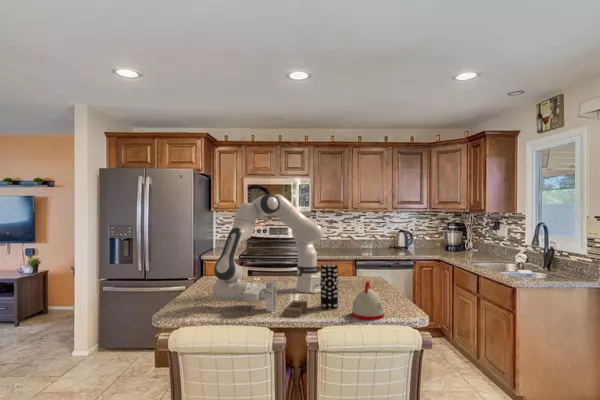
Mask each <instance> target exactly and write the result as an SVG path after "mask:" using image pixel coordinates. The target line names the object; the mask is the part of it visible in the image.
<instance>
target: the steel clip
mask: <svg viewBox="0 0 600 400" xmlns="http://www.w3.org/2000/svg"><path fill="white" fill-rule="evenodd" d="M265 284H266V293H271V297H266V298H265V299H266V300H265V309H266V310H265V312H266V313H274V310H276V309H277V280H269V281H268V282H267V283H265Z"/></svg>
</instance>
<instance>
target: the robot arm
mask: <svg viewBox="0 0 600 400" xmlns="http://www.w3.org/2000/svg"><path fill="white" fill-rule="evenodd" d="M273 214H274V215H275V216H276V217H277V218H278V219H279V220H280V221H281V222H282V223H283V224H284V225H285V226H286V227H288V228H289V229H290V230H291V236H292V237H293V239H294V242H295V245H296V249H297V266H296V269H297V270H296V274H297V275H296V276H297V278H296V279H297V280H296V285H295V291H296V292H299V293H307V294H309V293H310V294H317V293H321V265H320V266H319V265H318V257H317V255H318V252H317V250H316V249H315V247H314V244H315V243H318V242H321V241H322V240H323V238H324V236H325V235H324V229H323V228H322V226H320V225H319V224H317V223H316V222H315V221H313V220H312V219H310V218H308V217H307V216H306V215H305V214H303V213H302V212H301V211H300V210H299V209H298V208H297V207H296V206H295V205H294V204H293V203H292V202H291V201H290V200H288V199H287V198H286V197H284V195H281V194H280V193H277V194H264V195H261V196H258V197H257V198H255V199H252V200H251V201H249V202H243V203H241V204H240V205H239V206H238V209H237V211H236V214H235V216H234V220H233V223H232V227H231V228H230V229H231V230H230V232H229V233H228V235H227V238H226V240H225V243H224V246H223V249H222V252H221V255H220V257H219V258H218V259H217V260H216V262H215V265H214V267H213V273H214V276H215V277H216V278H217V281H215V282H214V283H213V285H212V294H213V296H214V297H215V299H218V300H223V301H237V302H258V301H259V300H261V299H264V298H265V299H266V297H271V293H266V283H261V282H260V283H259V282H255V281H248V282H247V281H245V282H244V281H243V277H244V269H243V268H242V267H241V265H239V264H238V263H236V262H235V257H236V254H237V251H238V248H239V245H240V244H241V242H243V241H246V240H248V239H250V238H251V237H252V235H253V233H254V231H255V227H256V223H257V220H258V219H260V218H265V217H268V216H270V215H273Z"/></svg>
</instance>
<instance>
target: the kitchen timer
mask: <svg viewBox="0 0 600 400" xmlns="http://www.w3.org/2000/svg"><path fill="white" fill-rule="evenodd" d="M364 284H365V286H364V289H362V290H361V291H360V292H359V293H358V294H357V295H356V297H355V298H354V299H353V302H352V310H351V316H352V317H353V318H355V319H357V320H362V321H363V320H364V321H379V320H381V319H383V318H384V317H385V315H384V313H385V312H384V304H383V300H382V299H380V297H379V295H378V294H377V293H376V292H375V291H374V290H373V289H371V285H370V281H366V282H365V283H364Z"/></svg>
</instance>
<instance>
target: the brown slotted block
mask: <svg viewBox="0 0 600 400" xmlns="http://www.w3.org/2000/svg"><path fill="white" fill-rule="evenodd" d="M307 308H308V300H295V299H294V300H292V301H290V303H289V304H288V305H287V306H286V307H285V308H284V309H283V311H284V314H283V315H284V317H293V318H294V317H295V318H301V317H302V315H303V314H304V312H305V311H306V310H307Z"/></svg>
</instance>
